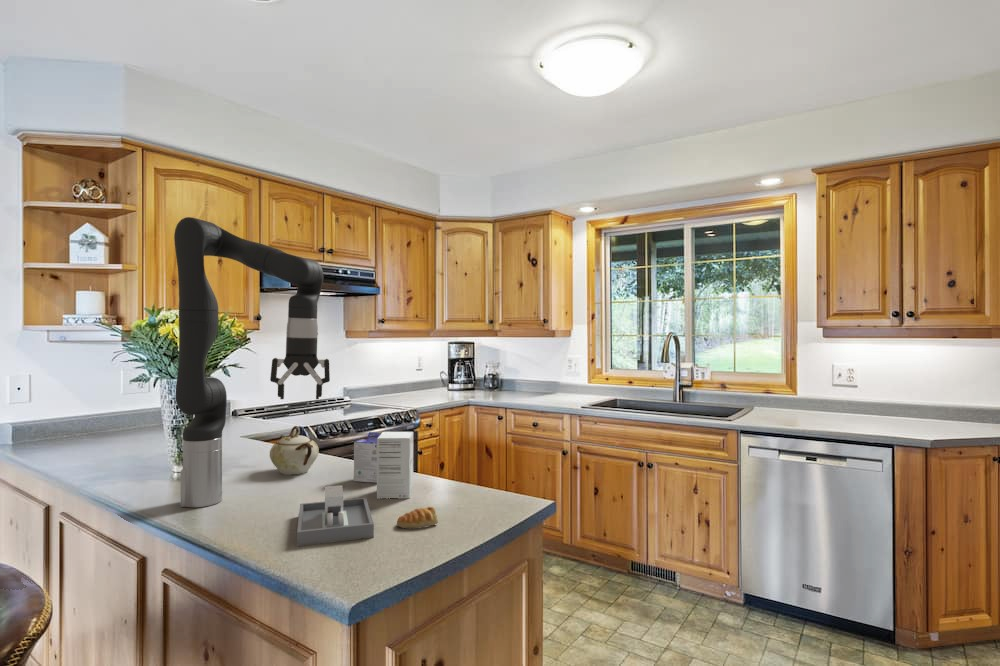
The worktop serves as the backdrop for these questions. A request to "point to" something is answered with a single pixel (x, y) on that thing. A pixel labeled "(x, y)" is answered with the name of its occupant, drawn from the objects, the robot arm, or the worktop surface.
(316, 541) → the guide tray
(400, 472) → the supplement box
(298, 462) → the sugar bowl
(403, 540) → the worktop surface
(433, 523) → the pastry
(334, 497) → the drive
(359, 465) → the ink cartridge box
